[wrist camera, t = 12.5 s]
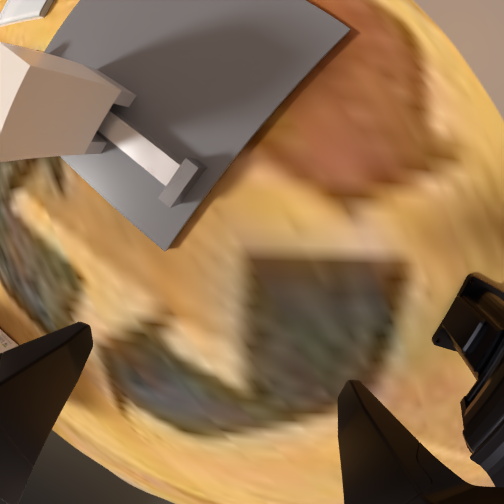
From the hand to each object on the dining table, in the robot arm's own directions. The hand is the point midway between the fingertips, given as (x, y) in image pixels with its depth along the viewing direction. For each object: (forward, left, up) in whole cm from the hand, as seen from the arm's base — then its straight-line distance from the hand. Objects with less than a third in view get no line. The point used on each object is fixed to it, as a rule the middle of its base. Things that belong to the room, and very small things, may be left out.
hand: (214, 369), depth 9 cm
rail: (+15, -7, -11) cm, 20 cm away
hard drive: (+35, -21, -12) cm, 42 cm away
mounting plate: (+13, -11, -12) cm, 21 cm away
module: (+15, -7, -11) cm, 19 cm away
